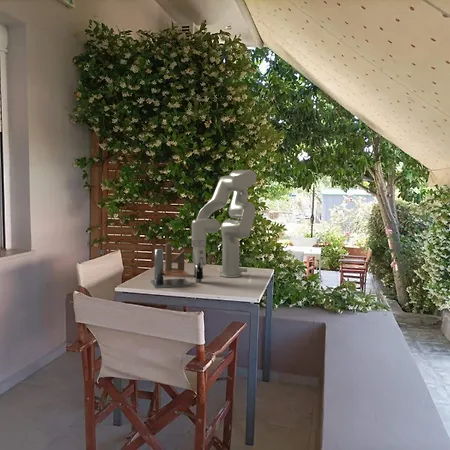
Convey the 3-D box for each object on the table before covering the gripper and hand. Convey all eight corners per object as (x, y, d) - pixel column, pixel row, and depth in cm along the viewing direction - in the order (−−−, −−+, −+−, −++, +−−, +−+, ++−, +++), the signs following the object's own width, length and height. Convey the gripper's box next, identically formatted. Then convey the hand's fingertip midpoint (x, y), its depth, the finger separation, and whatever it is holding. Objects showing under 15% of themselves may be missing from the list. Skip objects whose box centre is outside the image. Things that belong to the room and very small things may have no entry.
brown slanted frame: (184, 275, 249) (184, 243, 247) (165, 275, 247) (165, 243, 246) (183, 274, 252) (184, 242, 251) (164, 274, 251) (164, 242, 249)
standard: (155, 288, 216) (155, 251, 215) (150, 282, 230) (150, 247, 228) (191, 286, 222) (191, 250, 221) (184, 280, 235) (184, 246, 234)
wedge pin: (200, 281, 233) (200, 262, 233) (202, 282, 231) (202, 263, 230) (194, 281, 233) (195, 262, 232) (196, 282, 230) (196, 263, 229)
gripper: (210, 245, 223) (209, 281, 225) (201, 241, 239) (201, 274, 240) (195, 245, 221) (195, 281, 222) (187, 241, 236) (187, 275, 238)
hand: (198, 277), depth 231 cm, fingers open, 3 cm apart
